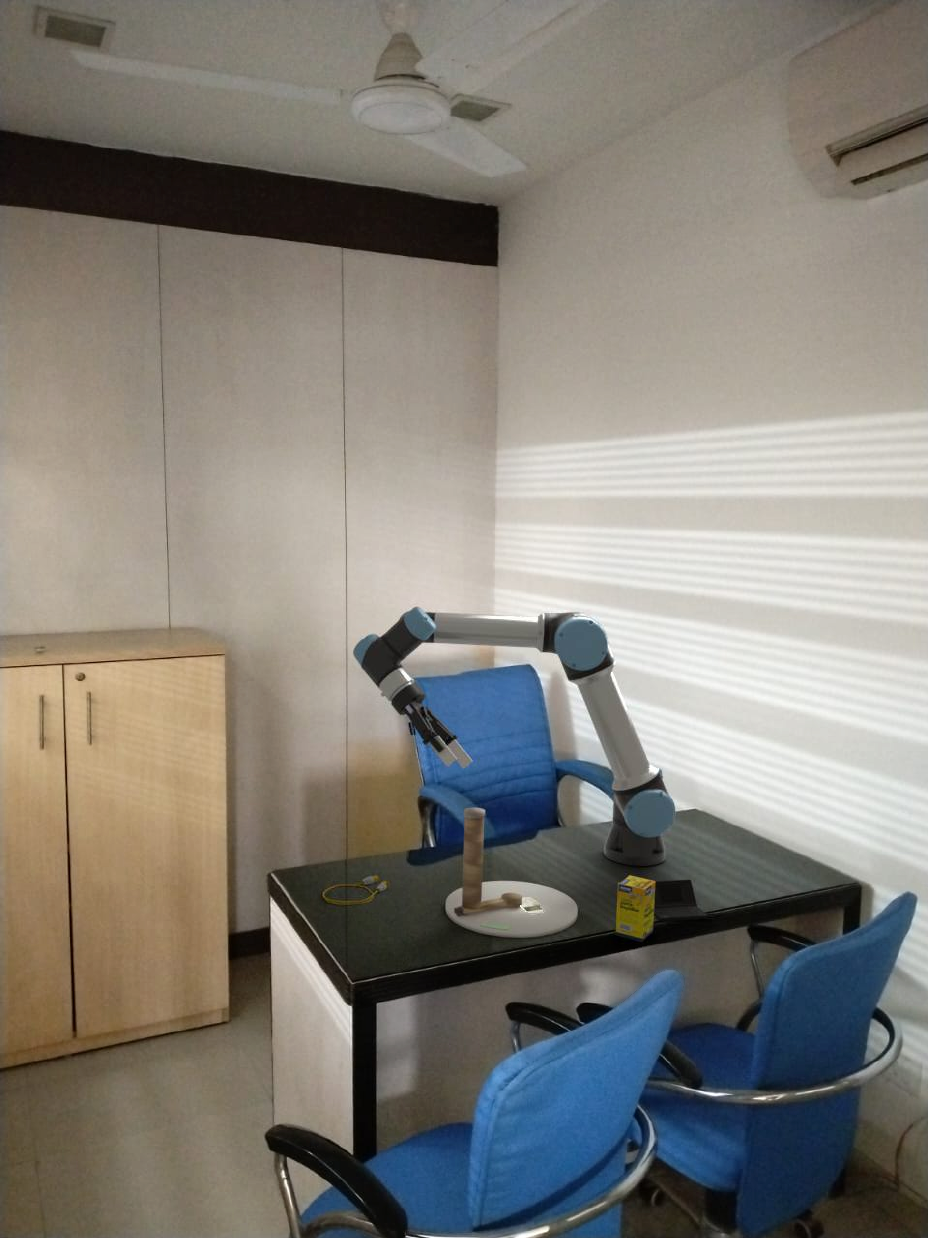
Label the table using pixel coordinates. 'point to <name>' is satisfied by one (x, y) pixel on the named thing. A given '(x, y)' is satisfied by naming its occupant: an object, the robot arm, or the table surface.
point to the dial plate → (516, 911)
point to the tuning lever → (477, 868)
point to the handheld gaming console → (676, 901)
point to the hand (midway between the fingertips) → (460, 764)
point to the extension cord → (365, 881)
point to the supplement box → (635, 908)
